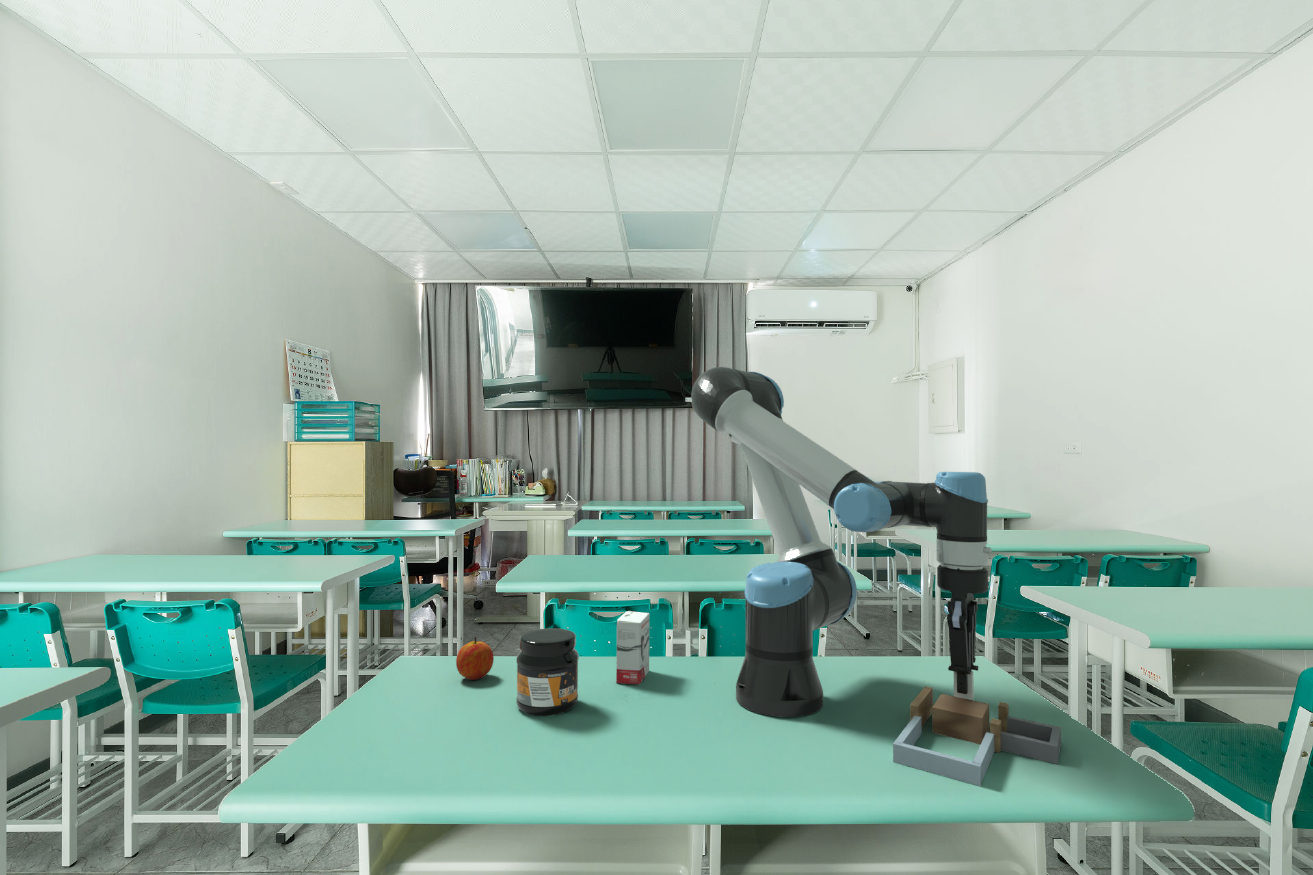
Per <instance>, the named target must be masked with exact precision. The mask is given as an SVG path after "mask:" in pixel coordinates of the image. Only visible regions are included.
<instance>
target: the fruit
mask: <svg viewBox="0 0 1313 875" xmlns="http://www.w3.org/2000/svg"><path fill="white" fill-rule="evenodd" d="M494 658H495V657H494V652H493V649H492V648H491V646H490V645H489V644H488V643H486V642H484V641H481V640H480V641H477V637H476V636H475V637H474V640H472V641H470V642H467V643H465V644H464V645H462V647H460V648H459V650H458V652H457V654H456V658H455V663H456V664H455V665H456V669H457V671H458V674H460V676H462V677H463V678H465V679H467V680H469V681H477V680H480V679H482V678H484V677H486V675H488V673H489V672H490V671H491V669H492V667H493V666H494Z"/></svg>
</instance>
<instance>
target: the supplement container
mask: <svg viewBox="0 0 1313 875" xmlns="http://www.w3.org/2000/svg"><path fill="white" fill-rule="evenodd" d="M576 644H577V635H576V633H575V632H574V631H572V630H569V629H564V628H538V629H533V630H530V631H526V632H524V633H523V634H521V635H520V637H519V649H520V651H519V652H518V654H517V656H516V664H517V665H516V666H517V667H516V668H517V669H516V672H517V674H516V675H517V676H516V698H515V699H516V702H515V703H516V706H517V707H518V709H519V710H520V711H521V712H523V713H525V714H526V715H530V716H536V717H549V716H557V715H561V714H563V713H567V712H568V711H570V710H571V709H573V708H574V707H575V706H576V705H577V703H578V700H579V693H578V690H579V689H578V688H579V686H578V682H579V679H578V678H579V677H578V676H579V671H578V670H579V668H578V667H579V666H578V665H579V659H580V658H579V657H580V656H579V652H578V650H577V649H575V647H576V646H577V645H576Z"/></svg>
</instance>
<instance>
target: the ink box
mask: <svg viewBox="0 0 1313 875" xmlns="http://www.w3.org/2000/svg"><path fill="white" fill-rule="evenodd" d="M616 620H617V622H616V670H615V672H616V678H615V679H616V680H615V681H616V684H624V685H625V684H626V685H627V684H629V685H639V686H640V685H641V683H642V682H643V681H644V679H645V678H646V677H647V674H648V673H649V671H650V613H649V612H639V611H631V610H628V611H627V610H626V611H625V612H624V613H623V614H622V615H620V616H619V617H618V619H616Z"/></svg>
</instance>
